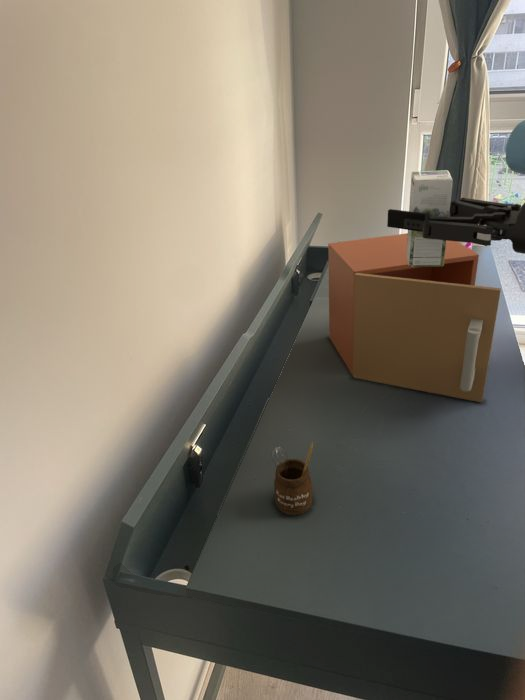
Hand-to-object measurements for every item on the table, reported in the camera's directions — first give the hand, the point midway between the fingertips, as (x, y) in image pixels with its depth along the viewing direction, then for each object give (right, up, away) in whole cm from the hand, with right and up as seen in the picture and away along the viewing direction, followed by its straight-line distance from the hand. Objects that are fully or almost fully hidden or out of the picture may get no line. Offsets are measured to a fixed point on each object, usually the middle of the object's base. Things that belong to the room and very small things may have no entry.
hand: (400, 211), depth 88 cm
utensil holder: (-18, -48, -4) cm, 51 cm away
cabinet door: (+7, -32, +18) cm, 38 cm away
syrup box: (+4, -8, +1) cm, 10 cm away
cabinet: (+8, -22, +36) cm, 43 cm away
